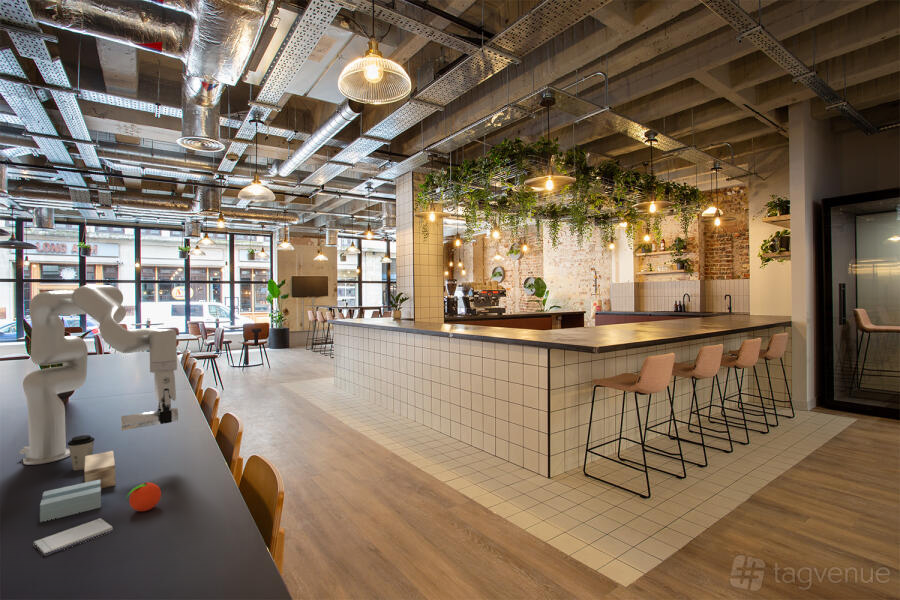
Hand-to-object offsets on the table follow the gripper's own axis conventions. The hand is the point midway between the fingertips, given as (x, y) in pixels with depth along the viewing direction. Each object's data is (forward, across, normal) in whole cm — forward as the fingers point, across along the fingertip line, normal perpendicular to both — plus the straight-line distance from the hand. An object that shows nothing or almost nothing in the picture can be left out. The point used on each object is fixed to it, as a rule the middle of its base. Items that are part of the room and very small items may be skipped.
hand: (164, 420), depth 145 cm
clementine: (+16, -32, +9) cm, 36 cm away
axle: (+1, 0, +4) cm, 4 cm away
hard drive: (+16, -36, +23) cm, 46 cm away
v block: (+15, -16, +23) cm, 32 cm away
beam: (+15, +1, +17) cm, 23 cm away
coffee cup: (+16, +18, +21) cm, 32 cm away
